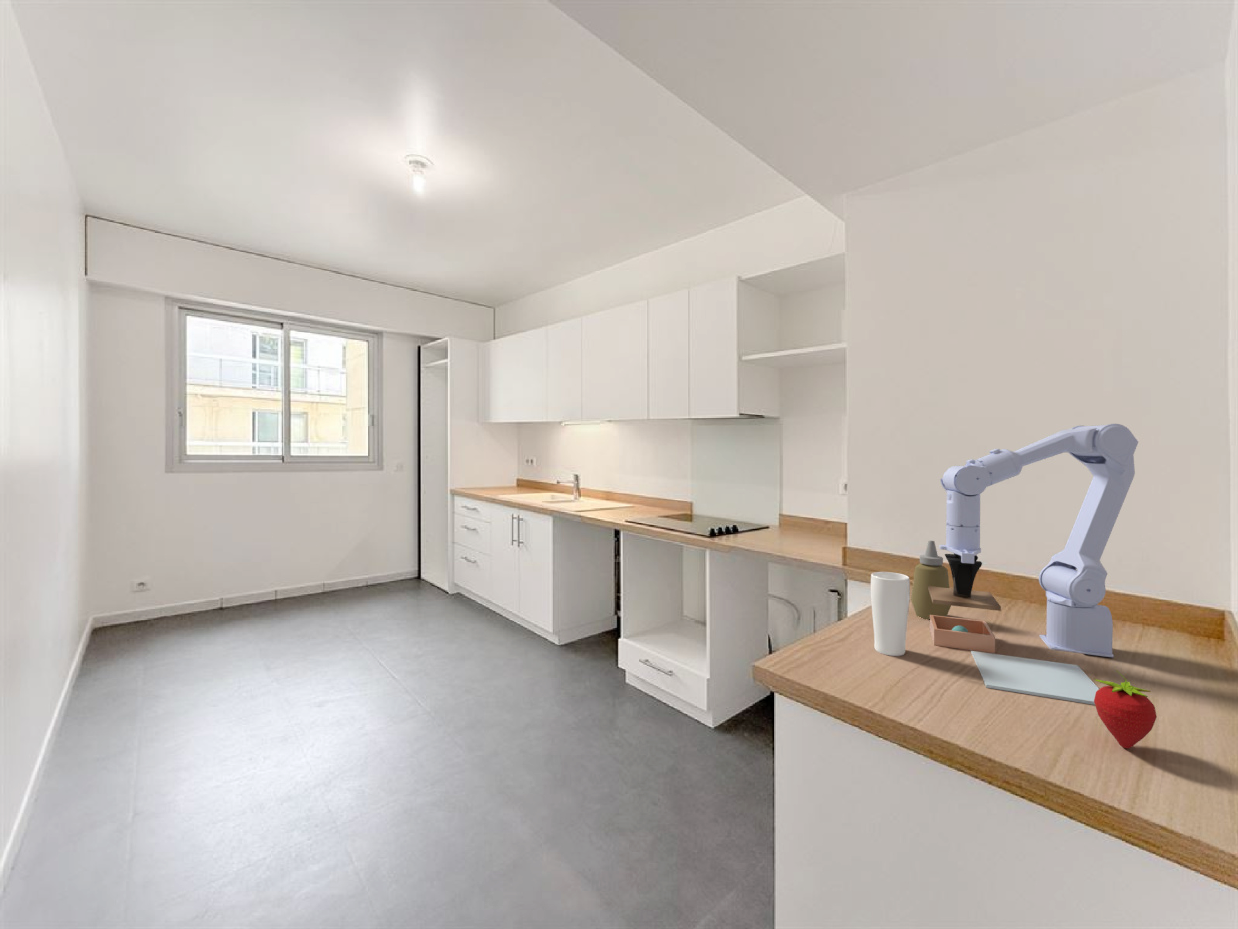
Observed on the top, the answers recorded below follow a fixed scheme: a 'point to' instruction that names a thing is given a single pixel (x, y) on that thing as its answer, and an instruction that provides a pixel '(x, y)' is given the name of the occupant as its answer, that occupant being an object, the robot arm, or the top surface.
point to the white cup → (890, 611)
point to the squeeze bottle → (929, 583)
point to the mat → (1035, 677)
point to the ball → (960, 629)
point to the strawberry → (1125, 712)
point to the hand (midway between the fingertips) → (962, 592)
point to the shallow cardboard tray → (962, 634)
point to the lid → (963, 598)
